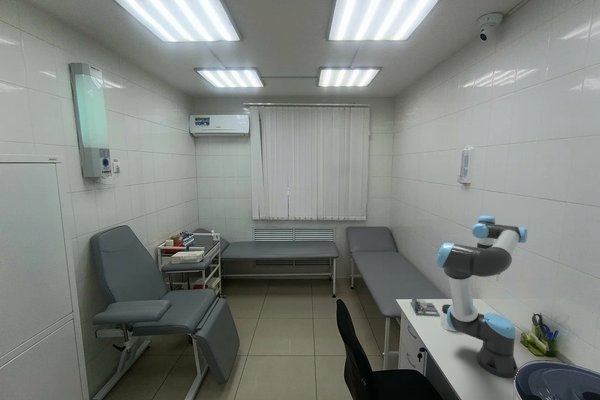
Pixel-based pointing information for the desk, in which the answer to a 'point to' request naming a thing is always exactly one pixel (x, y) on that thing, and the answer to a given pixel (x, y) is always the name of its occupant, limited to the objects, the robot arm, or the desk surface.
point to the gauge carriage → (422, 304)
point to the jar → (445, 318)
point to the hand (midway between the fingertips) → (483, 279)
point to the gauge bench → (428, 312)
